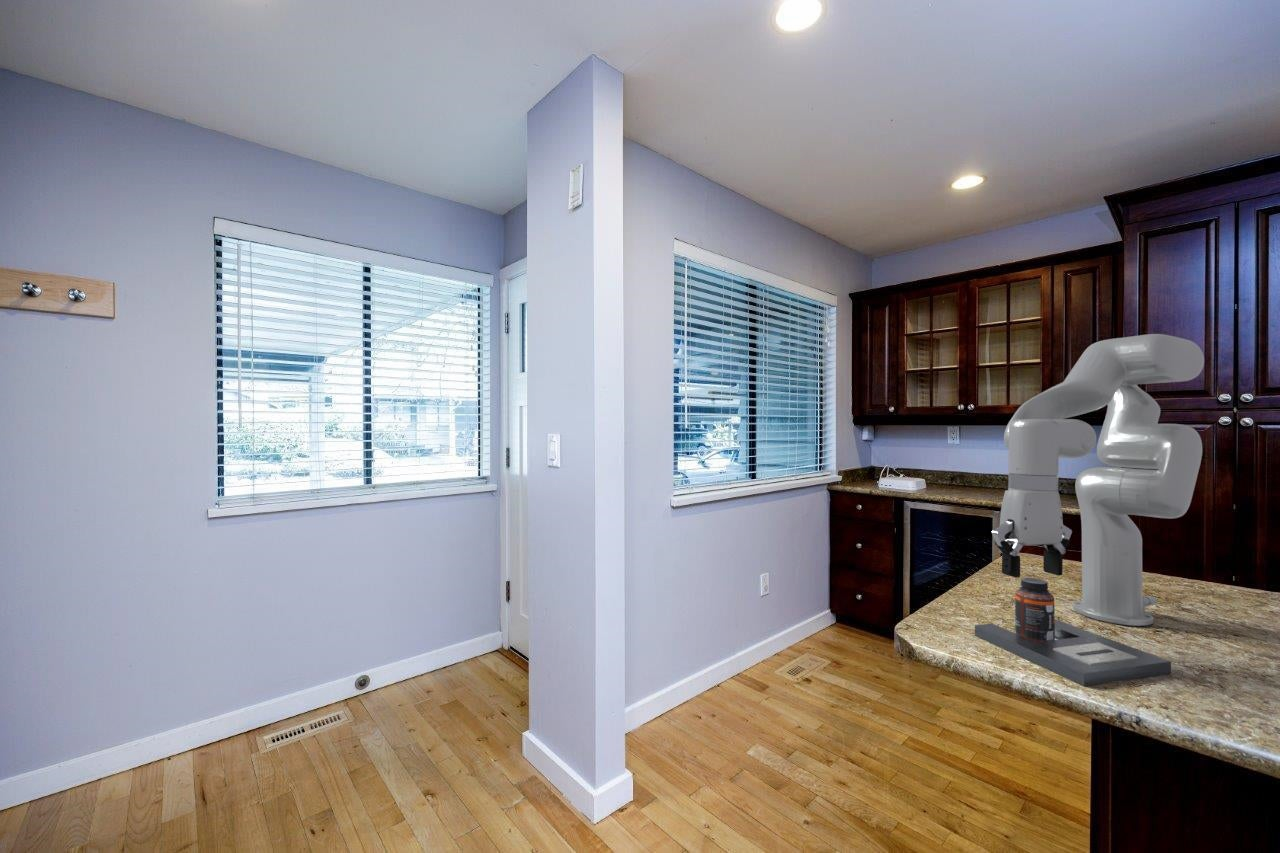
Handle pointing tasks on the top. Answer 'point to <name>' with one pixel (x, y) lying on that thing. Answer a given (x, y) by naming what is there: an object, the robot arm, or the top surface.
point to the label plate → (1079, 654)
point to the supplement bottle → (1034, 611)
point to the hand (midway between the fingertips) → (1032, 574)
